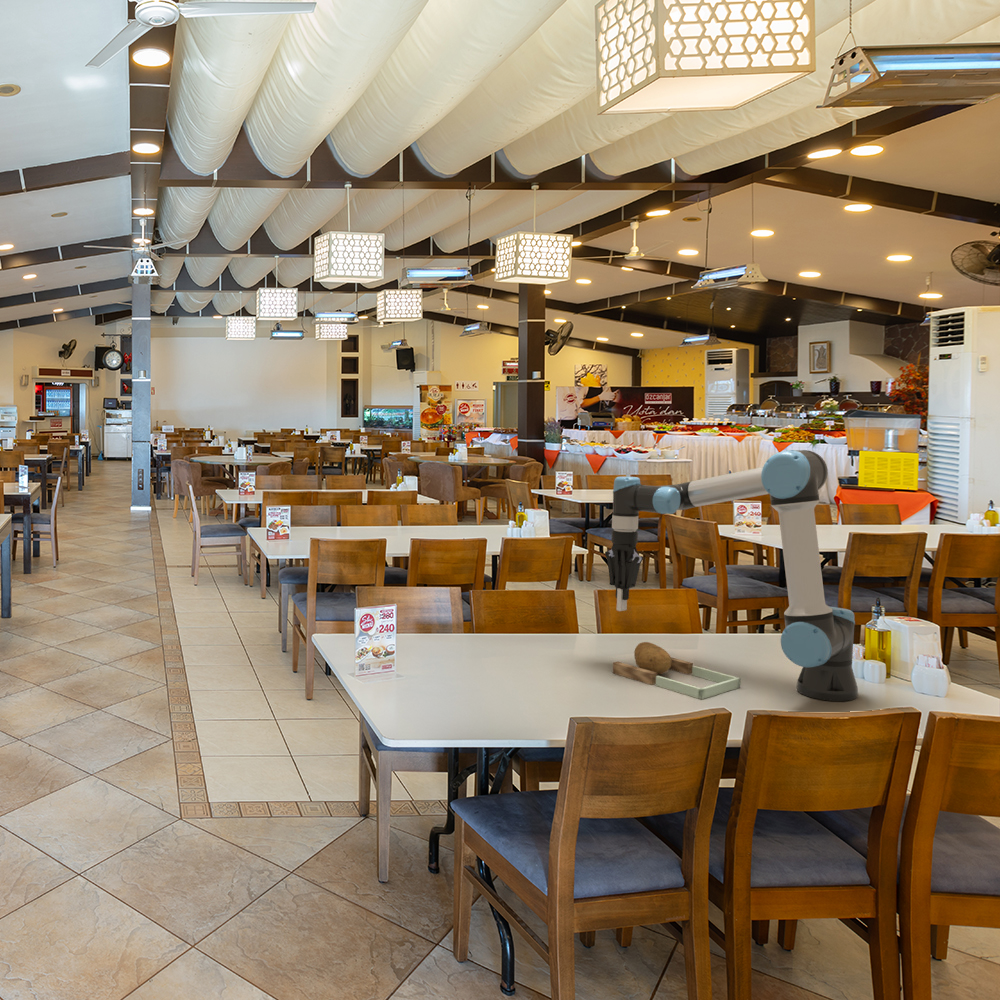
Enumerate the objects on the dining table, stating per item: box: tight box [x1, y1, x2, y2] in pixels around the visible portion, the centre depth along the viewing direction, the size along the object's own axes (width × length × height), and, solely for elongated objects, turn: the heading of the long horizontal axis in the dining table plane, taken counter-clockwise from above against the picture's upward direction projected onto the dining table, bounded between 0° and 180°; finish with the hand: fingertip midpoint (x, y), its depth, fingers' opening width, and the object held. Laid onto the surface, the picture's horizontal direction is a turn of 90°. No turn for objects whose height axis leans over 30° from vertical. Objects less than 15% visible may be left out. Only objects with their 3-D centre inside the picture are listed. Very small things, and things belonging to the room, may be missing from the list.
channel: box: [612, 656, 694, 686], centre depth 246 cm, size 14×18×3 cm
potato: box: [633, 641, 672, 676], centre depth 246 cm, size 10×14×8 cm
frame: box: [655, 665, 741, 700], centre depth 235 cm, size 15×17×2 cm
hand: (621, 610), depth 254 cm, fingers closed
